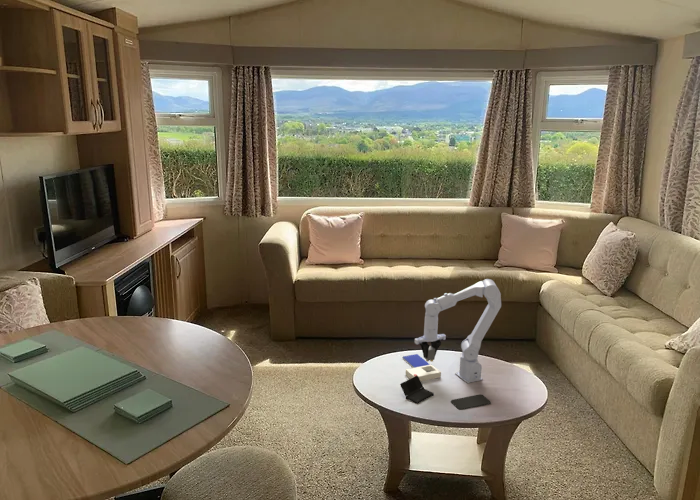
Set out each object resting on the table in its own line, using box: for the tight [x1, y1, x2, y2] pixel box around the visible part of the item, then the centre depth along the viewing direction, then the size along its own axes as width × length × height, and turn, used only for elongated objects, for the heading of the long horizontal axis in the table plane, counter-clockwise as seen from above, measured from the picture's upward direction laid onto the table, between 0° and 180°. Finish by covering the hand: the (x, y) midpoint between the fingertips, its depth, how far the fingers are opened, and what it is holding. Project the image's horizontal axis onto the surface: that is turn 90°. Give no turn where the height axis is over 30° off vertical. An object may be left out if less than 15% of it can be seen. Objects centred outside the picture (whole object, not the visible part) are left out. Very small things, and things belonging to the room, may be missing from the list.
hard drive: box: [401, 353, 431, 368], centre depth 250 cm, size 2×8×12 cm
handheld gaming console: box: [399, 376, 435, 405], centre depth 220 cm, size 12×7×10 cm
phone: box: [450, 393, 492, 411], centre depth 216 cm, size 7×1×15 cm
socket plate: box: [405, 364, 442, 382], centre depth 236 cm, size 8×13×3 cm, turn 114°
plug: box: [424, 345, 436, 363], centre depth 236 cm, size 3×3×6 cm
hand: (429, 356), depth 236 cm, fingers closed on plug, 3 cm apart
